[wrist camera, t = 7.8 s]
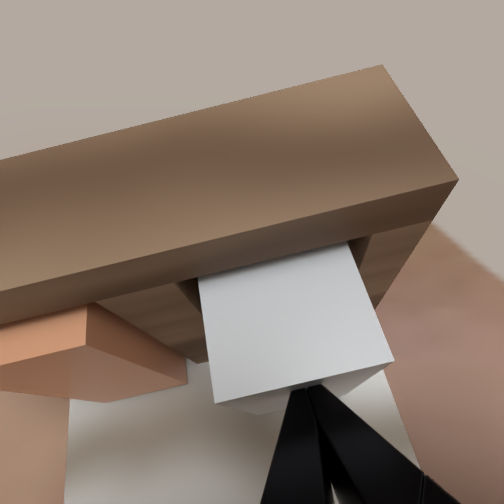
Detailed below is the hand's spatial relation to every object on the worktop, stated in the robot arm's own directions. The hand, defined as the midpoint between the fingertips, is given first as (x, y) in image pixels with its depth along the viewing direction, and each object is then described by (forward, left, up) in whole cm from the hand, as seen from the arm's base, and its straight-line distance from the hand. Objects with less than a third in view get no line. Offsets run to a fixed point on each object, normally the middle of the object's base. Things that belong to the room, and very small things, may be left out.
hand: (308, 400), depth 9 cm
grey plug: (+3, 0, -7) cm, 8 cm away
